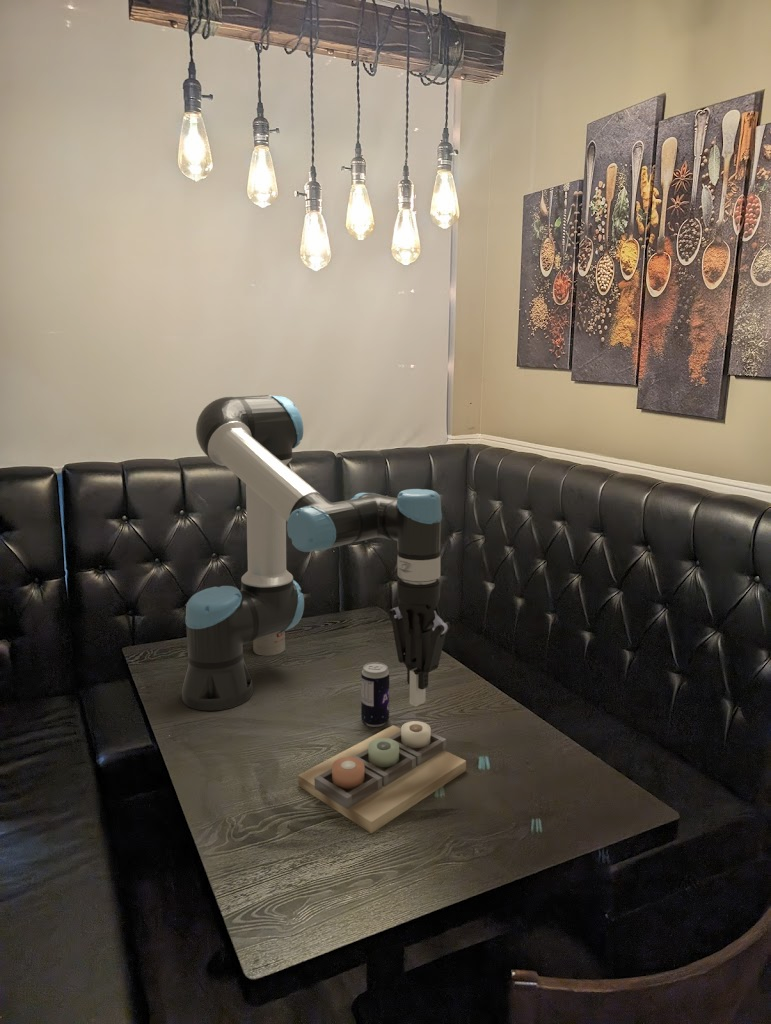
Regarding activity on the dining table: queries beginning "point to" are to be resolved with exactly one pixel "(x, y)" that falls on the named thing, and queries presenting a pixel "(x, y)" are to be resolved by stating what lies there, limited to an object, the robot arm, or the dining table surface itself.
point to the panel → (385, 780)
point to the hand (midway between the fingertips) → (417, 702)
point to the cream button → (415, 734)
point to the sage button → (383, 752)
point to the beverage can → (375, 694)
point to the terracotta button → (348, 772)
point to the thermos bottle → (270, 644)
